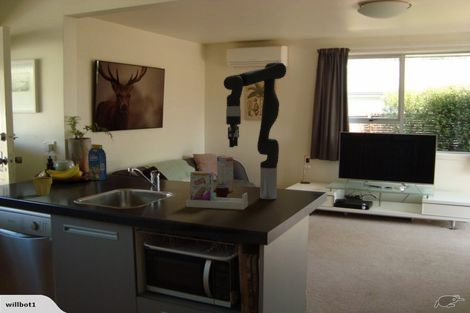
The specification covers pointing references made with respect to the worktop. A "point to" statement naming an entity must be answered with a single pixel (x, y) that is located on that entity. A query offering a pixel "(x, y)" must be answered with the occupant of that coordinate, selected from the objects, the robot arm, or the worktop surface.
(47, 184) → the plant pot
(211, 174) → the candy bar box
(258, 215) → the worktop surface
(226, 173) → the cracker box
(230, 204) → the pusher lane
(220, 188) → the mate gourd
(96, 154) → the blue food package
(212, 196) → the pusher paddle
